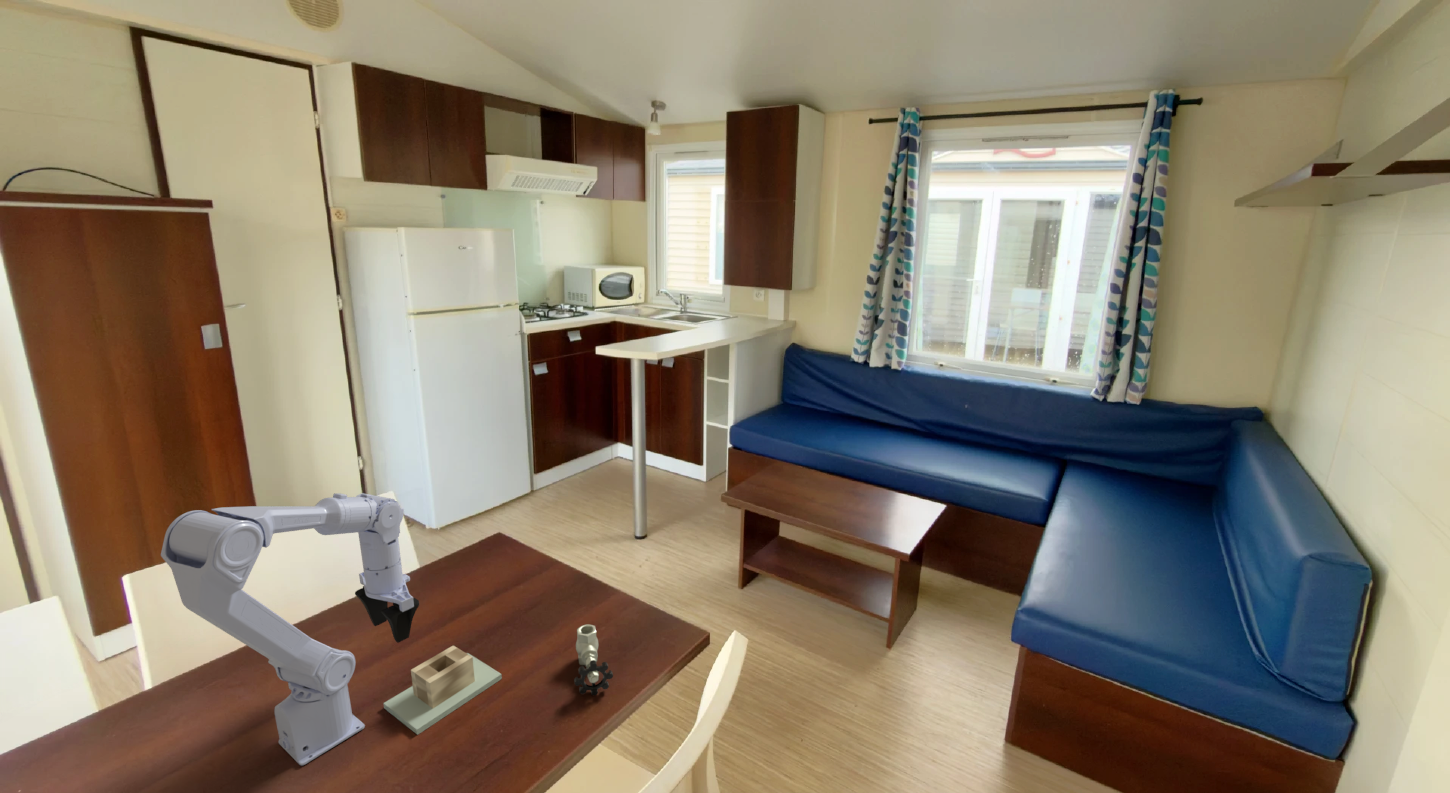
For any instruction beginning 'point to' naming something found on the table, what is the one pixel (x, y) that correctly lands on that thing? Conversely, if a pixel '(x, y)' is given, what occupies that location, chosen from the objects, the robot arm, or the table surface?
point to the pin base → (424, 716)
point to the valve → (590, 661)
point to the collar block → (442, 676)
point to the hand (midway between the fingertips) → (391, 631)
